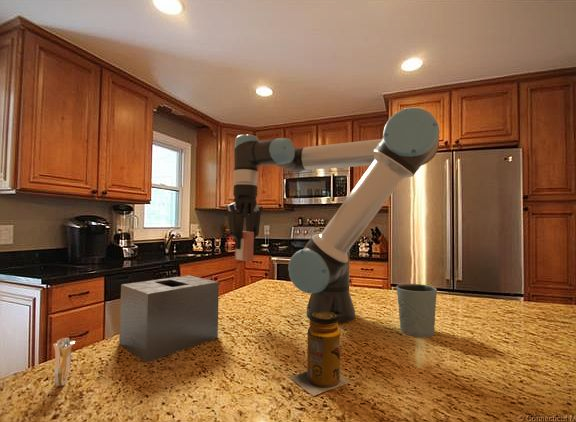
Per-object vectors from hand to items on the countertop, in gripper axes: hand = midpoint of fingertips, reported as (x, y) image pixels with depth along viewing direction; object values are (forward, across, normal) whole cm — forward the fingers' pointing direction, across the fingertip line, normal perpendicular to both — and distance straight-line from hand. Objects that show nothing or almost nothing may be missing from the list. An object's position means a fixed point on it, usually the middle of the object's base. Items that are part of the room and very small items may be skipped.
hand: (243, 259), depth 95 cm
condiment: (+18, +15, +41) cm, 47 cm away
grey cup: (+17, -24, +45) cm, 54 cm away
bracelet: (+18, +48, +8) cm, 52 cm away
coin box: (+18, +25, +3) cm, 31 cm away
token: (0, 0, 0) cm, 0 cm away
